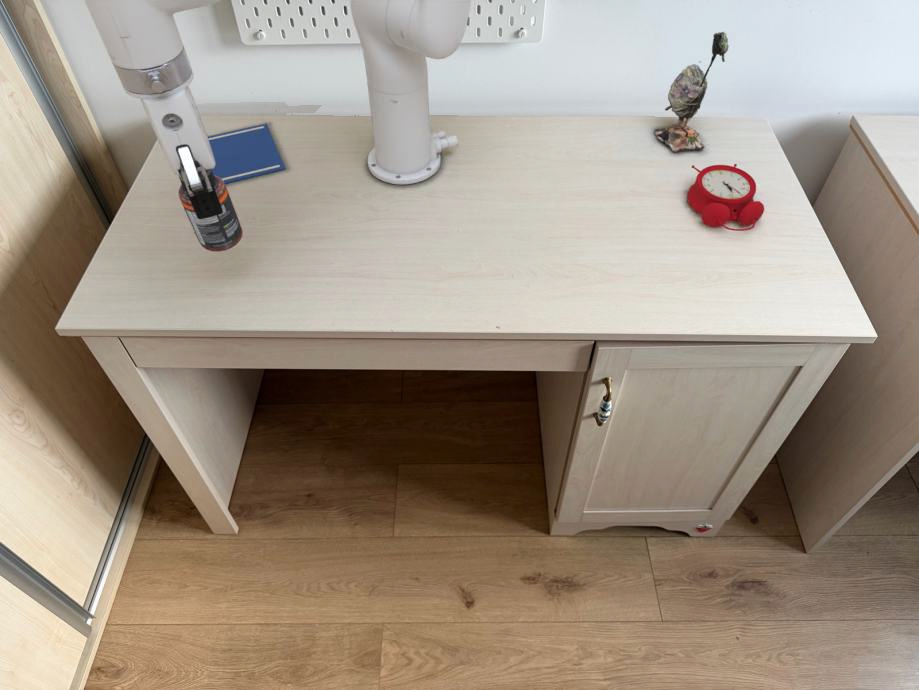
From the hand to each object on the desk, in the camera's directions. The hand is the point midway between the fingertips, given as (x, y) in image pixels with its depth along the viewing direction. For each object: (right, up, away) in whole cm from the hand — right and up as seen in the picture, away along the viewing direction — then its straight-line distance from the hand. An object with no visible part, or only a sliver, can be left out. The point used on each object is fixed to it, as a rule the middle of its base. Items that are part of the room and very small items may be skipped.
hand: (205, 198), depth 87 cm
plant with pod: (+72, +18, +35) cm, 82 cm away
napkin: (-7, +14, +32) cm, 36 cm away
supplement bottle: (0, -4, +6) cm, 7 cm away
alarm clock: (+75, +3, +22) cm, 78 cm away
